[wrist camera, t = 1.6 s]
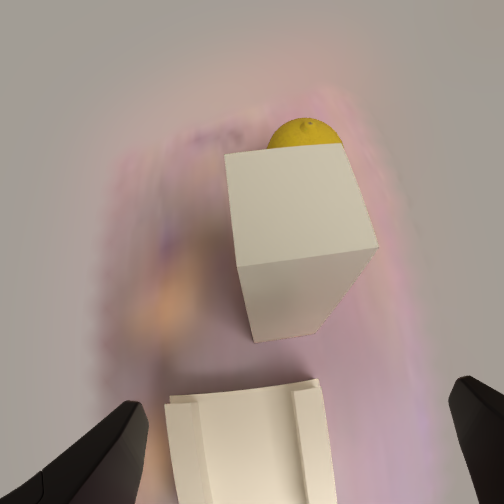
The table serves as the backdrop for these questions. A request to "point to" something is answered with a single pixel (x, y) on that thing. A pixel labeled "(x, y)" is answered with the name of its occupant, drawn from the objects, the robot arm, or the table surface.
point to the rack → (252, 446)
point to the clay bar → (296, 235)
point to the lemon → (303, 134)
